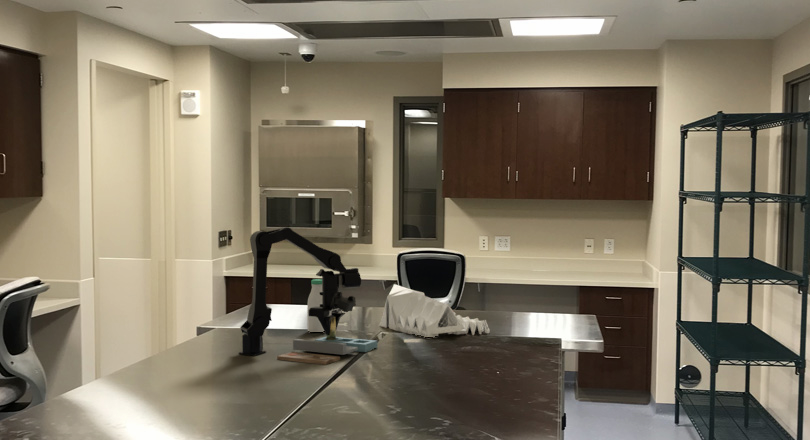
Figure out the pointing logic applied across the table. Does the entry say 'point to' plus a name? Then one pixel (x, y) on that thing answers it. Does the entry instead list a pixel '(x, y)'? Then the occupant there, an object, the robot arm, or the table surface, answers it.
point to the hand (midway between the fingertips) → (330, 334)
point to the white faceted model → (424, 315)
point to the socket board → (354, 343)
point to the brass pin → (332, 330)
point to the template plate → (308, 358)
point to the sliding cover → (322, 346)
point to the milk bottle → (314, 301)
